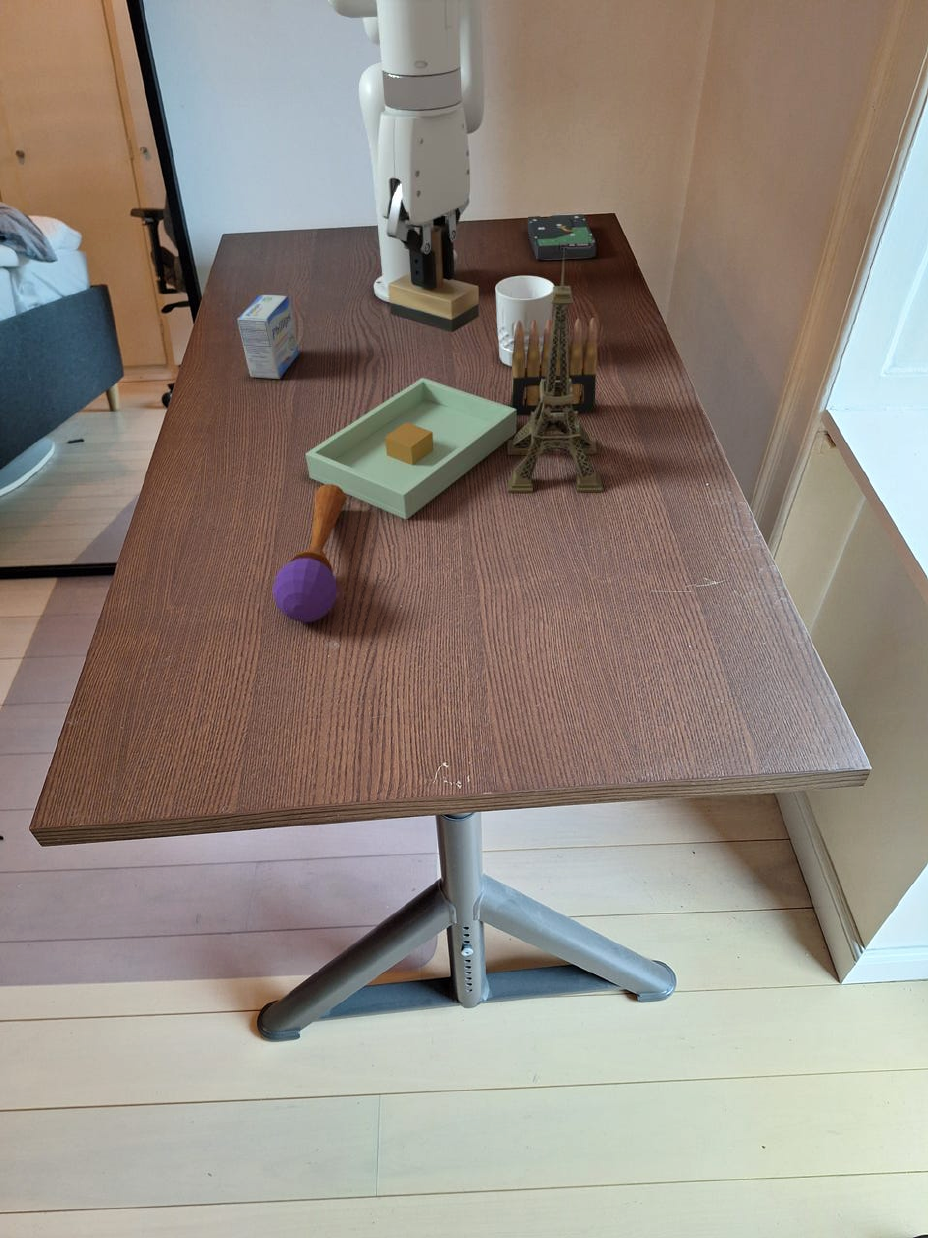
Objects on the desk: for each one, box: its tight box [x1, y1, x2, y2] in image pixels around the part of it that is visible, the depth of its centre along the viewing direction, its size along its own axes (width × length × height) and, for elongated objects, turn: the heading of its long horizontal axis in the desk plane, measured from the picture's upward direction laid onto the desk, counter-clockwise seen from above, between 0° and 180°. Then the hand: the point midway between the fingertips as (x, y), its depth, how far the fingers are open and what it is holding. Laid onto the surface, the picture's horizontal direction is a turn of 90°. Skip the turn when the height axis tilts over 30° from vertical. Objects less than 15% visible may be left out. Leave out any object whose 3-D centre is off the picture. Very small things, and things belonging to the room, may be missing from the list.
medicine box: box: [237, 294, 300, 380], centre depth 117 cm, size 8×4×9 cm, turn 168°
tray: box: [305, 377, 517, 520], centre depth 101 cm, size 22×15×3 cm
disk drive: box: [526, 213, 597, 261], centre depth 150 cm, size 10×3×15 cm
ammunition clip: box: [509, 317, 598, 416], centre depth 105 cm, size 11×2×12 cm, turn 92°
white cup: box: [494, 275, 555, 369], centre depth 116 cm, size 8×8×10 cm
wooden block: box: [385, 422, 434, 465], centre depth 100 cm, size 4×4×2 cm
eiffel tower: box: [507, 247, 603, 494], centre depth 91 cm, size 11×11×25 cm
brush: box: [388, 225, 480, 333], centre depth 94 cm, size 5×9×10 cm, turn 53°
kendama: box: [272, 484, 347, 623], centre depth 86 cm, size 6×6×20 cm
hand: (432, 280), depth 94 cm, fingers closed on brush, 2 cm apart
